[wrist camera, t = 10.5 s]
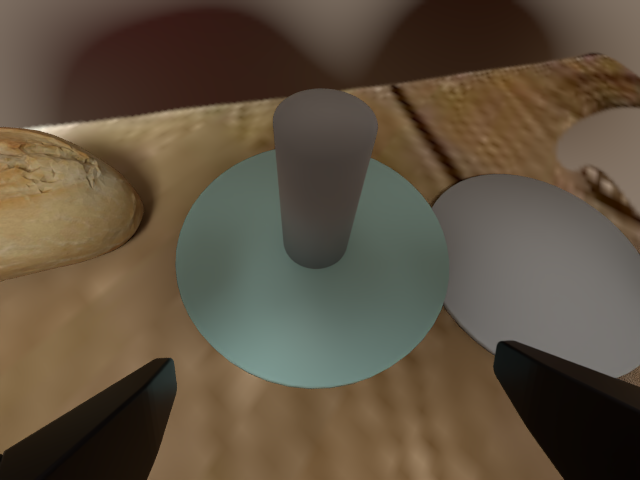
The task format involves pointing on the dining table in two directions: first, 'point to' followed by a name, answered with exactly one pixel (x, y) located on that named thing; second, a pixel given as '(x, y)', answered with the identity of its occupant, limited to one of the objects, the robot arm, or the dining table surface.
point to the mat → (540, 272)
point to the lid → (313, 252)
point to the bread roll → (58, 204)
